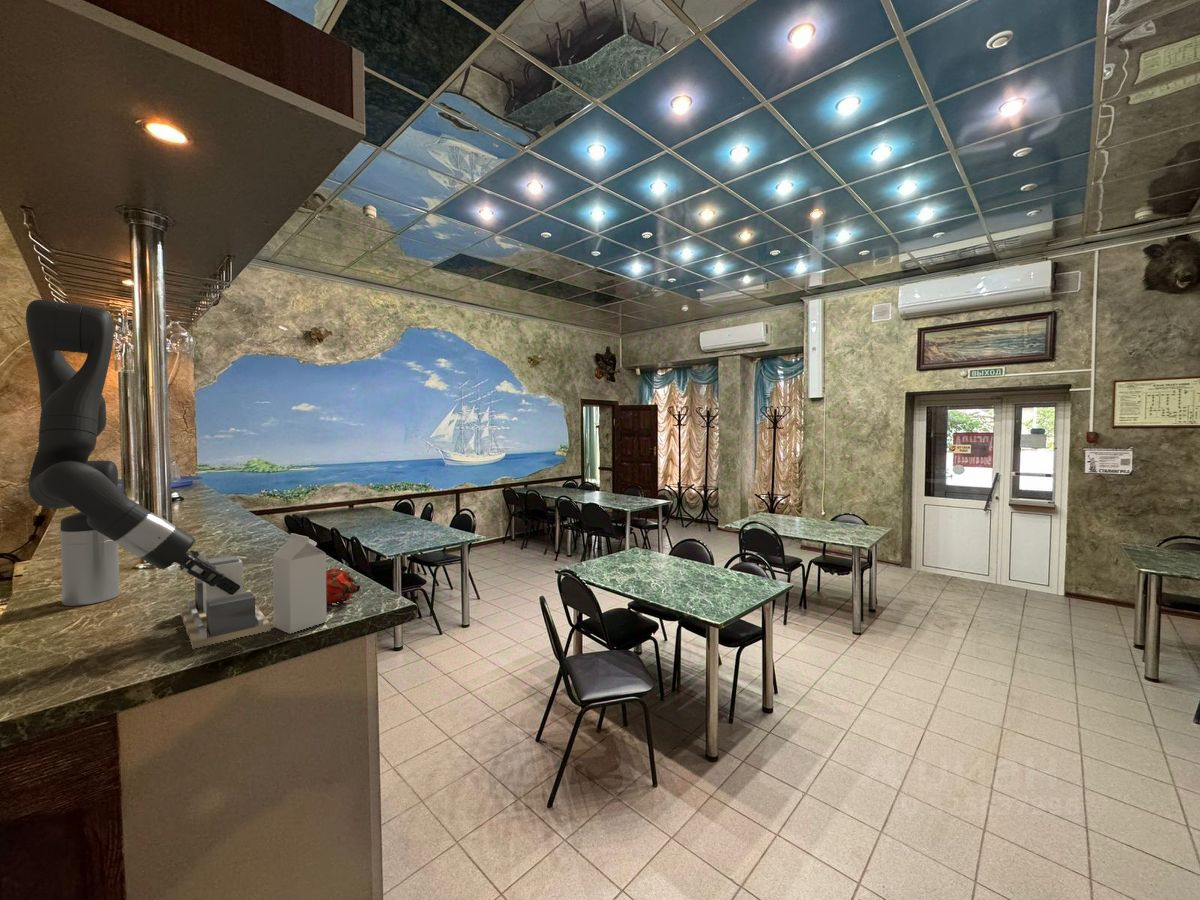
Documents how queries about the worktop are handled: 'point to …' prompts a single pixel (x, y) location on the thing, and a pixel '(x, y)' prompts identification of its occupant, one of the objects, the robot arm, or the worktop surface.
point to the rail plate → (222, 618)
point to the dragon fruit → (339, 585)
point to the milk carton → (299, 585)
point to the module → (230, 569)
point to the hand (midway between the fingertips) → (233, 587)
